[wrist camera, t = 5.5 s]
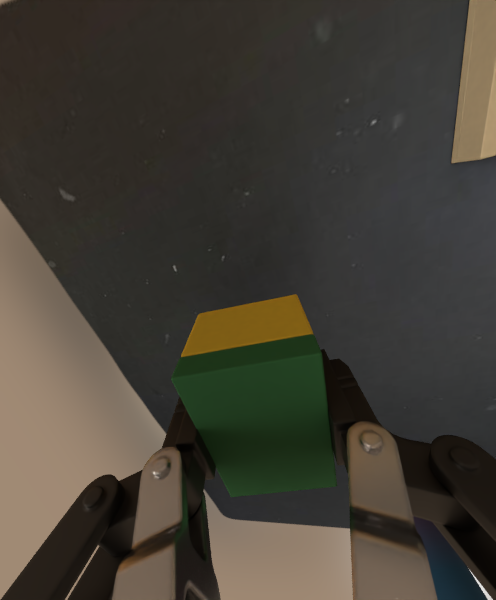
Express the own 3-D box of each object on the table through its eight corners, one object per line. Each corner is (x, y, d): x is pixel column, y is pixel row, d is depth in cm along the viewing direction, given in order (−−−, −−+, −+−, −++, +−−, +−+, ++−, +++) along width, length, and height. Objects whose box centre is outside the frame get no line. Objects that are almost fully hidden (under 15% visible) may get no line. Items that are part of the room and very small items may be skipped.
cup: (367, 440, 33) (446, 611, 20) (411, 446, 34) (518, 617, 20) (350, 466, 36) (408, 631, 23) (390, 472, 37) (471, 637, 23)
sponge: (313, 403, 13) (337, 487, 9) (236, 414, 13) (230, 498, 10) (296, 293, 10) (322, 353, 6) (198, 313, 10) (169, 379, 7)
